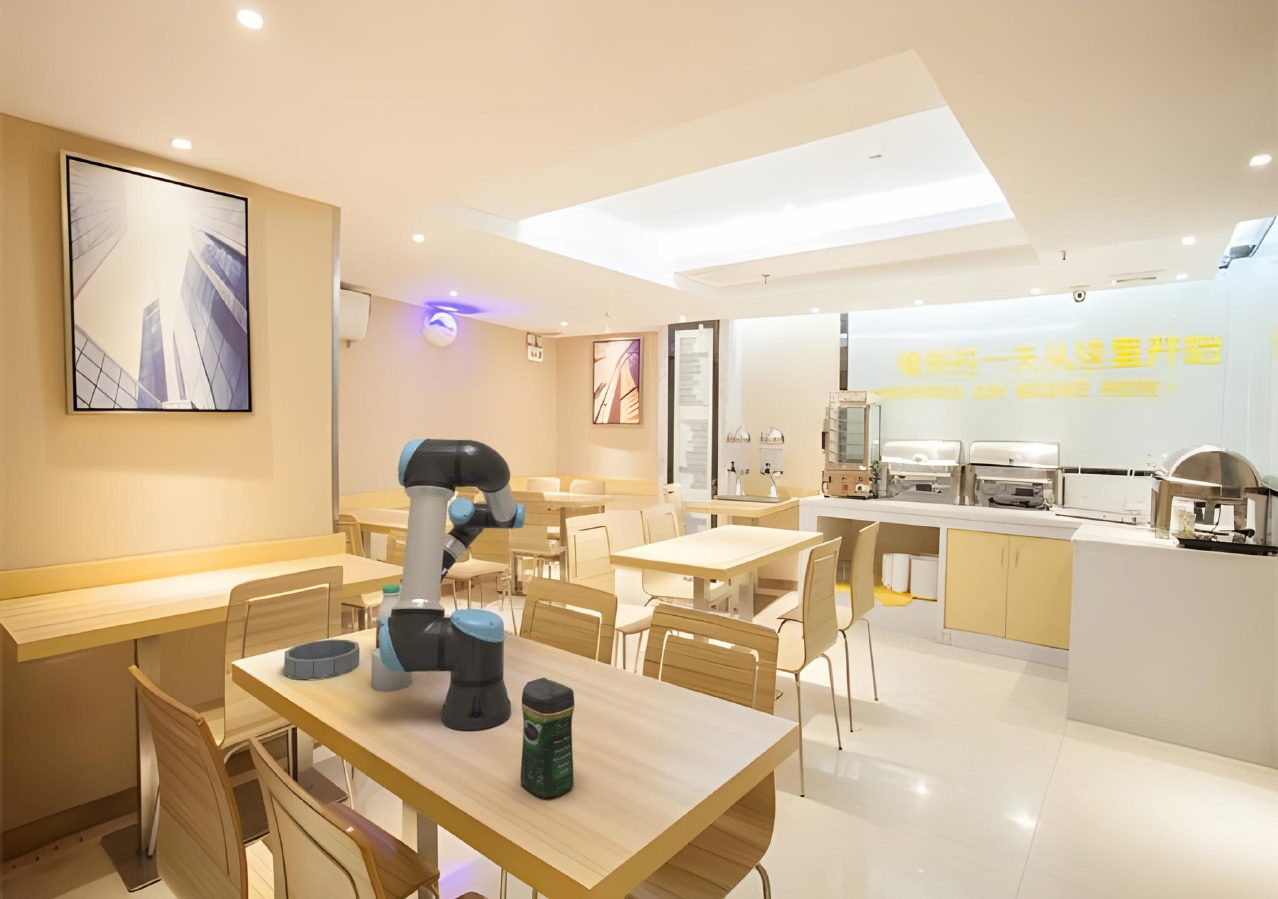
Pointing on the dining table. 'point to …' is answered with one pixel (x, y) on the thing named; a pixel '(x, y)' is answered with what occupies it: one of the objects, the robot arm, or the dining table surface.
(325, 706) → the dining table surface
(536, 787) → the coffee jar
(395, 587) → the milk bottle
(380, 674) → the toilet tissue
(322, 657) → the bowl
